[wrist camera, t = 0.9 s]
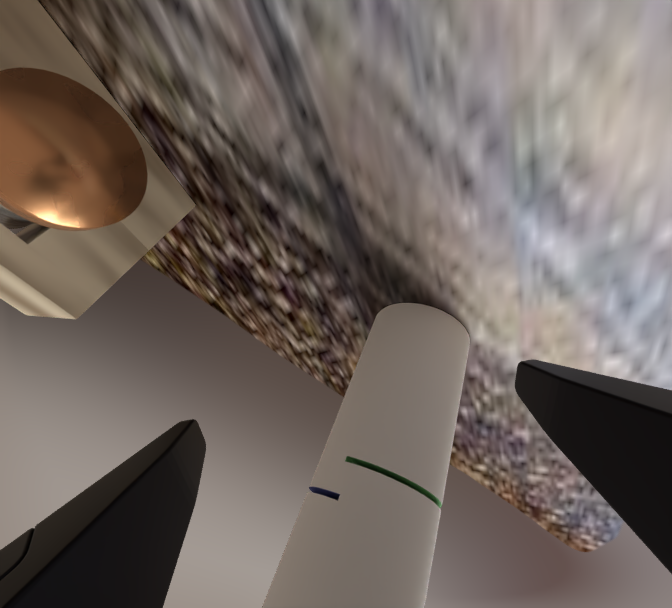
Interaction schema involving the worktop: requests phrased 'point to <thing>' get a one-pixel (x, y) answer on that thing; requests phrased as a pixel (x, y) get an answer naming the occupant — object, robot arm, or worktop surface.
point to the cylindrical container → (380, 471)
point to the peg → (64, 155)
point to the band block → (75, 246)
